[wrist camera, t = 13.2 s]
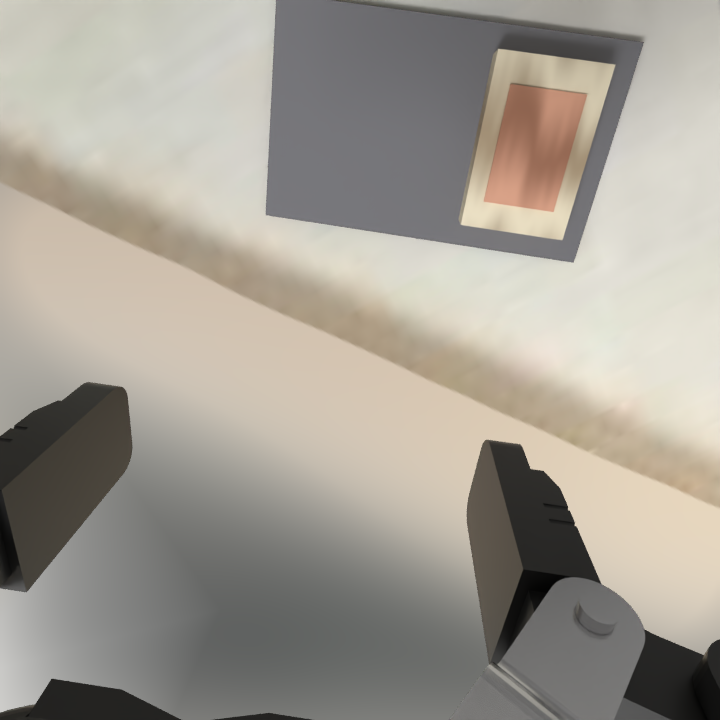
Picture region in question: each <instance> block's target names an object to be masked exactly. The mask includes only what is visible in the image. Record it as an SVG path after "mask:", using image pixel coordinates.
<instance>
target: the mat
mask: <svg viewBox="0 0 720 720" xmlns="http://www.w3.org/2000/svg"><path fill="white" fill-rule="evenodd" d="M643 43H644V42H637V41H630V40H623V39H615V38H608V37H600V36H593V35H586V34H578V33H571V32H563V31H556V30H549V29H541V28H534V27H526V26H519V25H512V24H504V23H497V22H489V21H482V20H475V19H467V18H460V17H452V16H445V15H437V14H430V13H423V12H415V11H408V10H400V9H393V8H386V7H378V6H371V5H363V4H356V3H349V2H341V1H334V0H276V15H275V36H274V56H273V76H272V97H271V117H270V138H269V158H268V179H267V199H266V215H269V216H276V217H282V218H288V219H295V220H301V221H308V222H314V223H321V224H327V225H334V226H340V227H347V228H353V229H360V230H366V231H373V232H379V233H386V234H392V235H398V236H405V237H411V238H418V239H424V240H431V241H437V242H444V243H450V244H457V245H463V246H470V247H476V248H483V249H489V250H495V251H502V252H508V253H515V254H521V255H528V256H534V257H541V258H547V259H554V260H560V261H567V262H574V259H575V256H576V253H577V250H578V247H579V244H580V240H581V237H582V234H583V231H584V228H585V225H586V222H587V219H588V215H589V212H590V209H591V206H592V203H593V200H594V197H595V193H596V190H597V187H598V184H599V181H600V178H601V175H602V171H603V168H604V165H605V162H606V159H607V156H608V153H609V149H610V146H611V143H612V140H613V137H614V134H615V131H616V128H617V124H618V121H619V118H620V115H621V112H622V109H623V106H624V102H625V99H626V96H627V93H628V90H629V87H630V84H631V80H632V77H633V74H634V71H635V68H636V65H637V62H638V58H639V55H640V52H641V49H642V46H643ZM498 49H505V50H512V51H519V52H527V53H534V54H541V55H549V56H556V57H563V58H571V59H578V60H585V61H592V62H600V63H607V64H614V65H615V68H614V71H613V75H612V78H611V81H610V85H609V88H608V91H607V95H606V98H605V101H604V105H603V108H602V111H601V114H600V118H599V121H598V124H597V128H596V131H595V134H594V138H593V141H592V144H591V148H590V151H589V154H588V157H587V161H586V164H585V167H584V171H583V174H582V177H581V181H580V184H579V187H578V190H577V194H576V197H575V200H574V204H573V207H572V210H571V214H570V217H569V220H568V224H567V227H566V230H565V233H564V237H563V240H557V239H550V238H543V237H537V236H530V235H524V234H517V233H511V232H504V231H497V230H491V229H484V228H478V227H471V226H465V225H461V224H460V222H459V220H458V219H459V215H460V210H461V205H462V200H463V196H464V191H465V186H466V181H467V177H468V172H469V167H470V162H471V157H472V153H473V148H474V143H475V138H476V134H477V129H478V124H479V119H480V115H481V110H482V105H483V100H484V96H485V91H486V86H487V81H488V77H489V72H490V67H491V62H492V58H493V54H494V53H495V52H496V51H497V50H498Z"/></svg>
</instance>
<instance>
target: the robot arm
mask: <svg viewBox="0 0 720 720" xmlns="http://www.w3.org/2000/svg"><path fill="white" fill-rule="evenodd" d="M131 454H132V437H131V427H130V416H129V406H128V397H127V393H126V391H125V389H124V388H123V387H118V386H112V385H104V384H98V383H90V382H87V383H84V384H83V385H81V386H80V387H79V388H77V389H76V390H75V391H74V392H72V393H71V394H70V395H69V396H67V397H66V398H65V399H64V400H62V401H56V402H54V403H51V404H49V405H47V406H44V407H42V408H40V409H37V410H35V411H33V412H32V413H30V414H29V415H28V416H26V417H25V418H24V419H22V420H21V421H20V422H18V423H17V424H16V425H15V426H14V429H11V428H10V429H9V430H8V431H7V432H5V433H4V434H3V435H1V436H0V588H2V589H8V590H15V591H22V592H27V591H28V590H29V589H30V587H31V586H32V585H33V584H34V582H35V581H36V580H37V579H38V578H39V576H40V575H41V574H42V573H43V571H44V570H45V569H46V568H47V567H48V565H49V564H50V563H51V562H52V560H53V559H54V558H55V557H56V555H57V554H58V553H59V552H60V551H61V549H62V548H63V547H64V546H65V545H66V543H67V542H68V541H69V540H70V538H71V537H72V536H73V535H74V534H75V532H76V531H77V530H78V529H79V527H80V526H81V525H82V524H83V522H84V521H85V520H86V519H87V518H88V516H89V515H90V514H91V513H92V511H93V510H94V509H95V508H96V507H97V505H98V504H99V503H100V502H101V500H102V499H103V498H104V497H105V496H106V494H107V493H108V492H109V491H110V489H111V488H112V487H113V486H114V485H115V483H116V482H117V481H118V480H119V478H120V477H121V476H122V475H123V473H124V472H125V470H126V469H127V466H128V464H129V462H130V458H131ZM574 524H575V522H574V520H573V517H572V515H571V513H570V511H568V506H567V503H566V501H565V499H564V496H563V494H562V492H561V490H560V488H559V487H558V486H557V485H556V484H555V483H554V482H553V481H552V479H551V478H550V477H549V476H548V475H547V474H546V473H545V472H544V471H540V470H532V469H530V466H529V464H528V461H527V458H526V456H525V453H524V450H523V448H522V446H521V445H520V444H513V443H506V442H499V441H492V440H485V441H484V443H483V445H482V448H481V451H480V456H479V459H478V463H477V467H476V470H475V474H474V478H473V482H472V485H471V490H470V493H469V498H468V505H467V526H468V532H469V538H470V545H471V551H472V557H473V564H474V571H475V577H476V583H477V590H478V596H479V602H480V609H481V615H482V622H483V628H484V634H485V641H486V647H487V653H488V659H489V665H488V666H487V668H486V669H485V670H484V671H483V673H482V674H481V675H480V677H479V678H478V679H477V681H476V682H475V684H474V685H473V686H472V688H471V689H470V691H469V692H468V693H467V695H466V696H465V698H464V699H463V701H462V702H461V703H460V705H459V706H458V708H457V709H456V711H455V712H454V713H453V715H452V716H451V717H450V719H449V720H720V640H717V641H715V642H714V643H712V644H711V645H710V647H709V648H708V650H707V652H706V653H705V655H702V654H699V653H697V652H695V651H692V650H690V649H687V648H685V647H682V646H680V645H678V644H675V643H673V642H671V641H668V640H666V639H663V638H661V637H659V636H656V635H654V634H652V633H650V632H648V631H646V630H644V628H643V625H642V623H641V621H640V619H639V617H638V615H637V614H636V612H635V611H634V610H633V609H632V607H631V606H630V605H629V604H628V603H627V602H626V601H625V600H624V599H623V598H622V597H620V596H619V595H618V594H617V593H615V592H613V591H612V590H611V589H609V588H607V587H605V586H604V585H602V584H601V582H600V580H599V578H598V575H597V573H596V571H595V569H594V566H593V564H592V561H591V559H590V557H589V554H588V552H587V550H586V547H585V545H584V543H583V540H582V538H581V536H580V533H579V531H578V529H577V527H576V526H574ZM0 720H181V719H179V718H176V717H175V716H173V715H170V714H169V713H167V712H165V711H163V710H161V709H159V708H157V707H155V706H153V705H151V704H149V703H147V702H145V701H143V700H141V699H139V698H137V697H135V696H133V695H131V694H129V693H127V692H125V691H123V690H120V689H114V688H107V687H100V686H95V685H88V684H82V683H75V682H69V681H63V680H56V679H51V681H50V682H49V684H48V685H47V687H46V689H45V690H44V692H43V693H42V695H41V696H40V698H39V699H38V701H37V703H36V704H35V705H29V706H24V707H19V708H15V709H11V710H7V711H4V712H1V713H0ZM215 720H310V719H303V718H297V717H291V716H285V715H278V714H272V713H265V714H257V715H248V716H240V717H232V718H224V719H215Z"/></svg>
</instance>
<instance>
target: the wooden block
mask: <svg viewBox="0 0 720 720" xmlns="http://www.w3.org/2000/svg"><path fill="white" fill-rule="evenodd" d="M614 68H615V65H614V64H607V63H600V62H592V61H585V60H578V59H571V58H563V57H556V56H549V55H541V54H534V53H527V52H519V51H512V50H505V49H498V50H497V51H496V52H495V53H494V54H493V58H492V62H491V67H490V72H489V77H488V81H487V86H486V91H485V96H484V100H483V105H482V110H481V115H480V119H479V124H478V129H477V134H476V138H475V143H474V148H473V153H472V157H471V162H470V167H469V172H468V177H467V181H466V186H465V191H464V196H463V200H462V205H461V210H460V215H459V219H458V220H459V222H460V224H461V225H465V226H471V227H478V228H484V229H491V230H497V231H504V232H511V233H517V234H524V235H530V236H537V237H543V238H550V239H557V240H563V237H564V233H565V230H566V227H567V224H568V220H569V217H570V214H571V210H572V207H573V204H574V200H575V197H576V194H577V190H578V187H579V184H580V181H581V177H582V174H583V171H584V167H585V164H586V161H587V157H588V154H589V151H590V148H591V144H592V141H593V138H594V134H595V131H596V128H597V124H598V121H599V118H600V114H601V111H602V108H603V105H604V101H605V98H606V95H607V91H608V88H609V85H610V81H611V78H612V75H613V71H614Z"/></svg>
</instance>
